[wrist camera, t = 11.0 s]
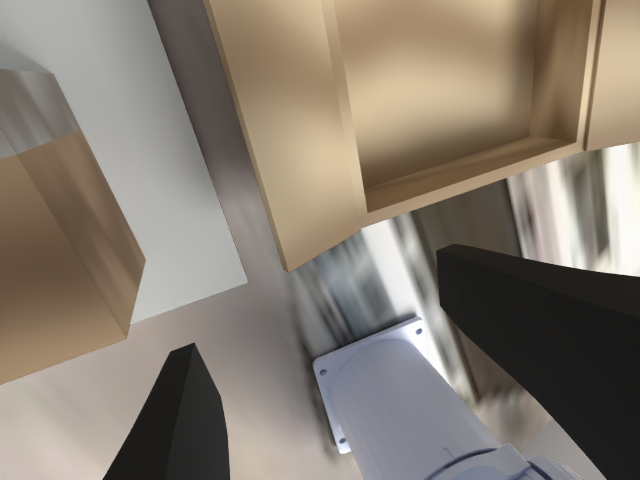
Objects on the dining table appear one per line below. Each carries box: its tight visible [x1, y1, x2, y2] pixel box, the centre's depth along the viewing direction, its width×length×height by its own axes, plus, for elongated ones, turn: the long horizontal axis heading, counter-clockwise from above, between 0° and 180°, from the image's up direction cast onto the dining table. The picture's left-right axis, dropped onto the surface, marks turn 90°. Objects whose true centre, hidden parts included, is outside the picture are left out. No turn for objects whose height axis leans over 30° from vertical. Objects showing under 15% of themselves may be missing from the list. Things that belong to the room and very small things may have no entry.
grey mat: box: [0, 0, 248, 325], centre depth 15 cm, size 14×12×1 cm
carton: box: [203, 0, 640, 272], centre depth 15 cm, size 13×21×5 cm, turn 102°
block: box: [0, 69, 146, 385], centre depth 12 cm, size 8×4×6 cm, turn 12°
